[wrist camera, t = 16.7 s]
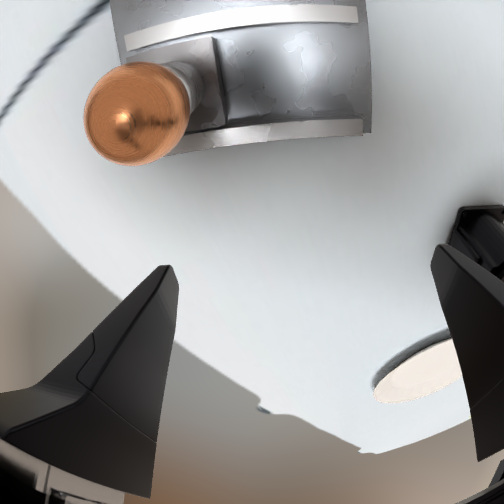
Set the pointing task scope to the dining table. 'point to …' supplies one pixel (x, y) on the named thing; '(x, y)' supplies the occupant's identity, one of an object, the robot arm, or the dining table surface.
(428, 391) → the plate
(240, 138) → the base
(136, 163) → the press lever
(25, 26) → the dining table surface
